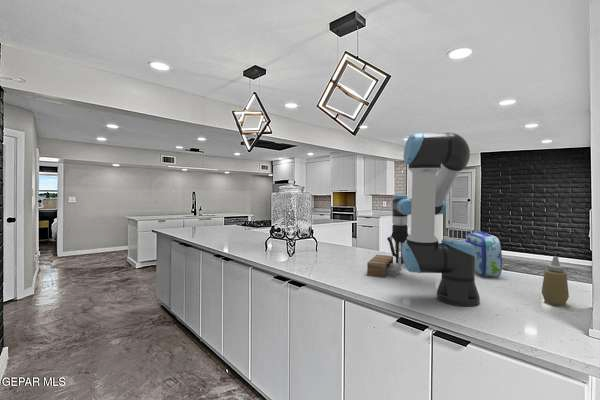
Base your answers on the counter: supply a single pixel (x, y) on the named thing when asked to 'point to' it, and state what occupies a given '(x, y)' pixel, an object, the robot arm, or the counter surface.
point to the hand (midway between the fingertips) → (399, 269)
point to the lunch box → (486, 253)
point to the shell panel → (392, 270)
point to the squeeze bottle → (555, 284)
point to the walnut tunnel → (378, 265)
